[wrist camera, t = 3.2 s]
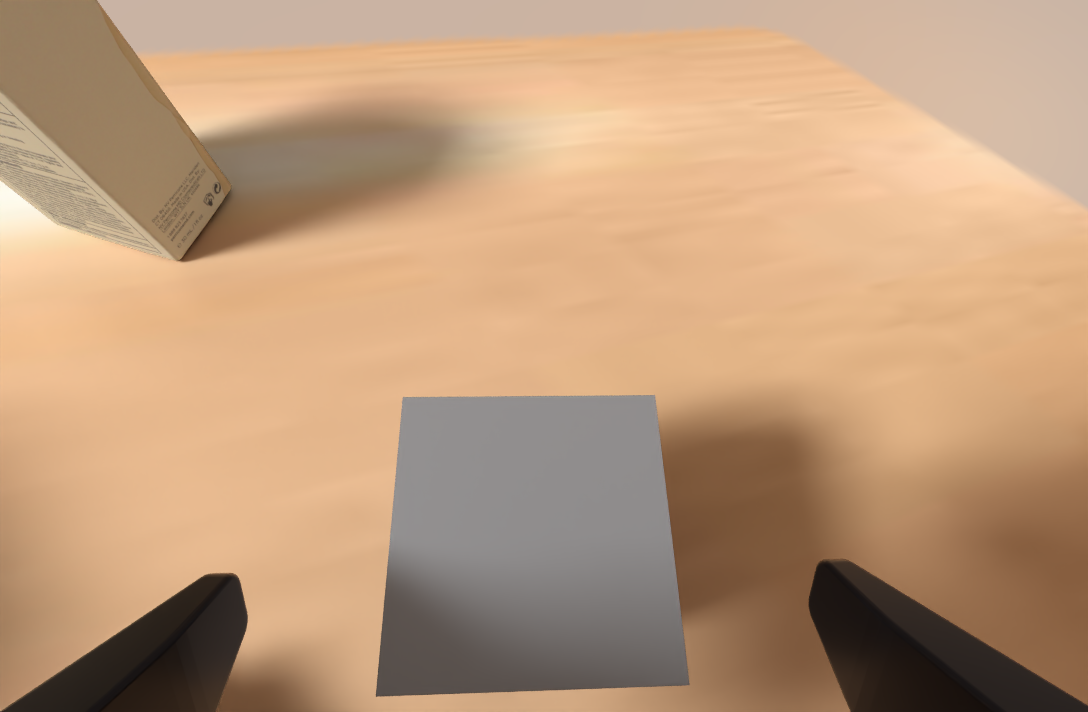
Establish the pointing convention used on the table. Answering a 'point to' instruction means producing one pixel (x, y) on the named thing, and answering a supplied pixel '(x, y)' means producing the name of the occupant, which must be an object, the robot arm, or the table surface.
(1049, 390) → the table surface
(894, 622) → the robot arm
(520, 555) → the grey block
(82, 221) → the skincare box
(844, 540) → the table surface
